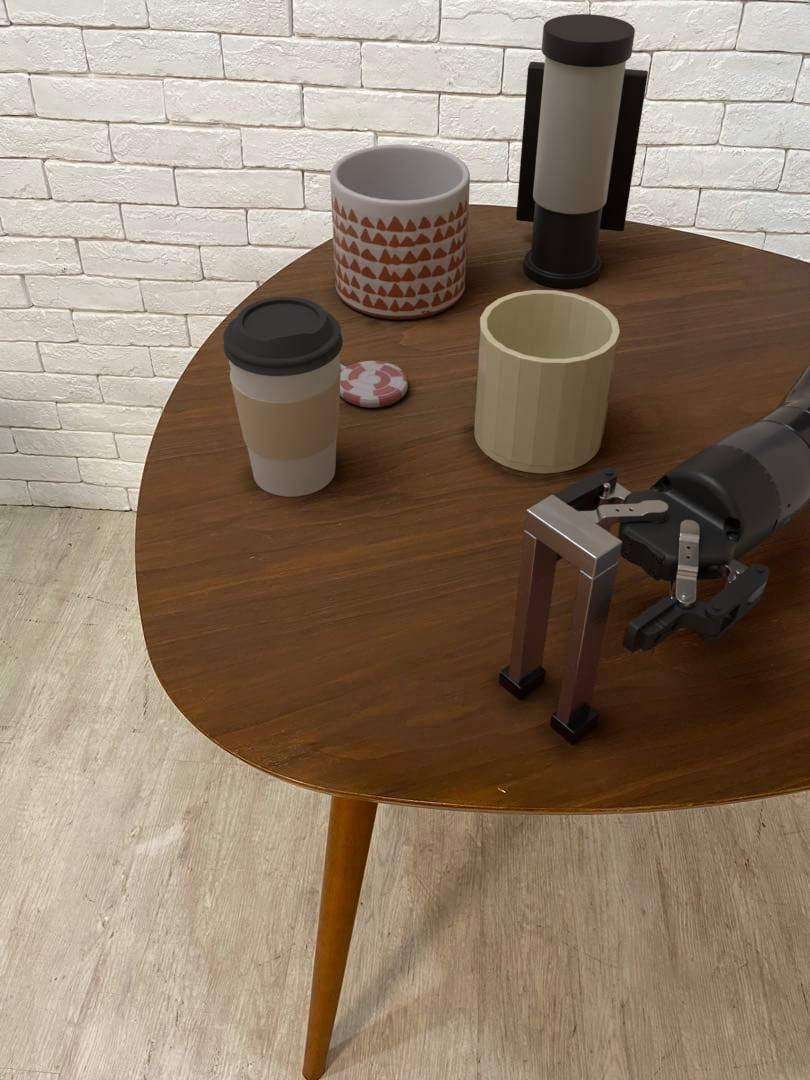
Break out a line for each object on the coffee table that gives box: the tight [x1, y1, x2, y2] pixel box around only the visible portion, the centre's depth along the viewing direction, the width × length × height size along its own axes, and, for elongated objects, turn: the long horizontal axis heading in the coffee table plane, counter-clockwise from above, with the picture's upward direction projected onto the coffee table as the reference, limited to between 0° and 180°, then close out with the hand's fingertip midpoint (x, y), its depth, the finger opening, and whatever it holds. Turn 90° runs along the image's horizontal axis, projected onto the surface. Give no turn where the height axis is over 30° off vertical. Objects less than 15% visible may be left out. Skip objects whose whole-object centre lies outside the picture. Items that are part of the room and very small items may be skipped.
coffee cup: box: [222, 296, 344, 498], centre depth 83 cm, size 9×9×15 cm
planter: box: [329, 143, 471, 321], centre depth 107 cm, size 14×14×13 cm
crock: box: [473, 289, 621, 474], centre depth 89 cm, size 11×11×11 cm
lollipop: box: [339, 360, 409, 409], centre depth 99 cm, size 7×1×15 cm
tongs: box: [498, 494, 622, 745], centre depth 65 cm, size 7×2×16 cm, turn 40°
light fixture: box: [515, 13, 649, 289], centre depth 107 cm, size 12×11×25 cm
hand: (576, 600), depth 65 cm, fingers open, 8 cm apart
